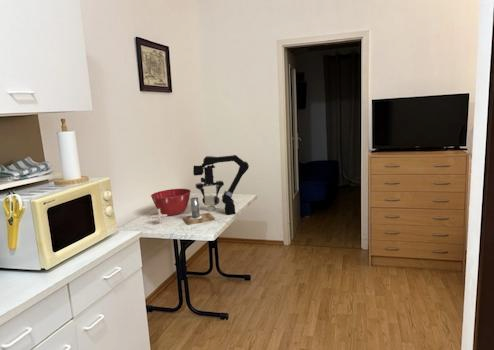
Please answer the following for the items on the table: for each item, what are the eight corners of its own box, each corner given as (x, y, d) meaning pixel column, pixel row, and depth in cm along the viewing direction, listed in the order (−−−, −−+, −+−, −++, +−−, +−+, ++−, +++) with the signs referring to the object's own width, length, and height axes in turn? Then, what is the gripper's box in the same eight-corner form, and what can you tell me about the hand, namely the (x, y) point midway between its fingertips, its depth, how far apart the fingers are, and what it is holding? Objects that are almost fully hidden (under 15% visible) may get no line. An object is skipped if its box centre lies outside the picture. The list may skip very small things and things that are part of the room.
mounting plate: (209, 215, 262) (209, 212, 262) (214, 220, 249) (214, 216, 249) (184, 219, 256) (183, 216, 256) (188, 224, 243) (187, 221, 243)
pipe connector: (153, 222, 256) (152, 207, 254) (168, 220, 256) (167, 206, 255) (151, 226, 246) (149, 211, 244) (166, 225, 247) (165, 210, 245)
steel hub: (200, 215, 254) (198, 197, 252) (199, 217, 249) (197, 198, 247) (193, 216, 254) (191, 197, 252) (191, 218, 249) (189, 199, 247)
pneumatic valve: (217, 211, 270) (216, 195, 268) (203, 211, 275) (201, 195, 273) (221, 209, 276) (219, 193, 274) (206, 209, 280) (205, 193, 278)
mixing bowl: (171, 220, 256) (169, 198, 253) (145, 216, 273) (142, 195, 271) (200, 210, 278) (198, 190, 275) (174, 206, 295) (172, 187, 293)
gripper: (218, 171, 269) (220, 193, 271) (192, 174, 262) (194, 196, 265) (223, 173, 258) (224, 195, 261) (196, 176, 252) (198, 199, 255)
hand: (210, 196), depth 261 cm, fingers open, 9 cm apart
